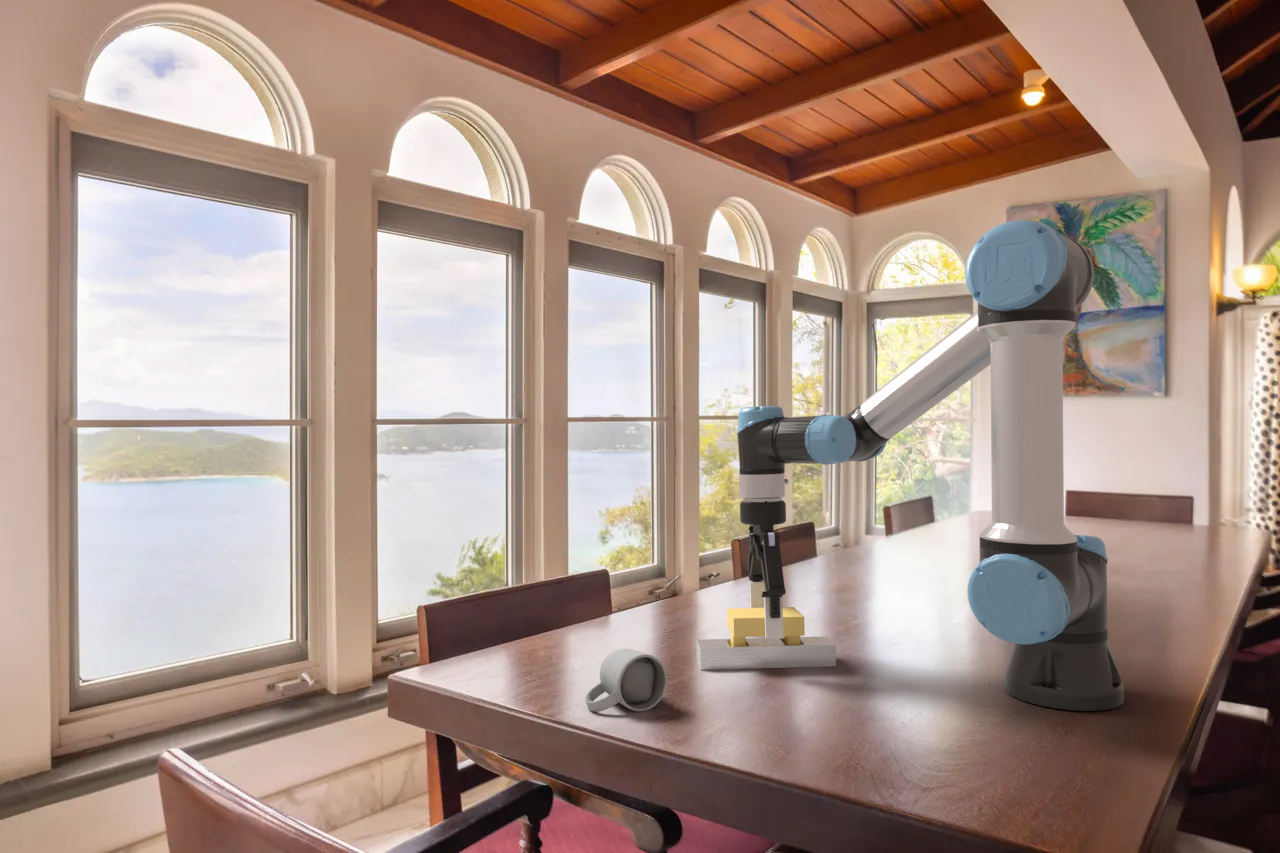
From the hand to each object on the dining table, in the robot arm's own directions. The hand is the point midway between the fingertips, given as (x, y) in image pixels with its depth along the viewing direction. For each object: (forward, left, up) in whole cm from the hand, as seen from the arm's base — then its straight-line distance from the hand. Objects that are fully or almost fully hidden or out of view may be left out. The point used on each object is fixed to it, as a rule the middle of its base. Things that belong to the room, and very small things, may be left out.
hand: (766, 628), depth 137 cm
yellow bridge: (0, 0, -5) cm, 5 cm away
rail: (0, 0, -6) cm, 6 cm away
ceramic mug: (-19, +24, -6) cm, 31 cm away
